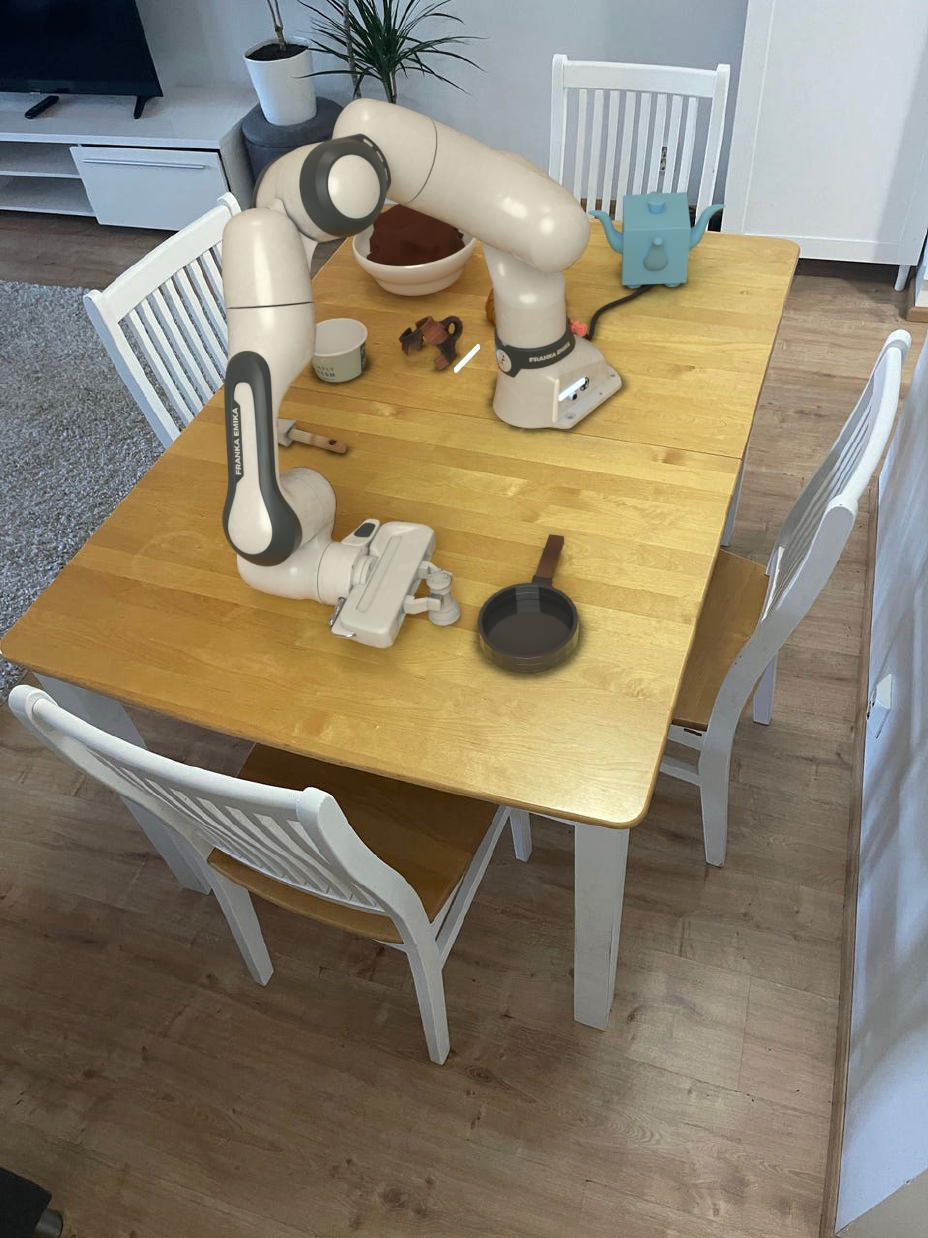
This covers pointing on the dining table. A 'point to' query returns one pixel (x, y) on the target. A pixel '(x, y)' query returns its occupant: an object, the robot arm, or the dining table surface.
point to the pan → (528, 627)
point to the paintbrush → (305, 437)
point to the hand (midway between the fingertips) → (447, 591)
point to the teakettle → (655, 237)
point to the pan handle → (549, 560)
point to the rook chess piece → (450, 608)
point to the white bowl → (412, 252)
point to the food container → (340, 349)
